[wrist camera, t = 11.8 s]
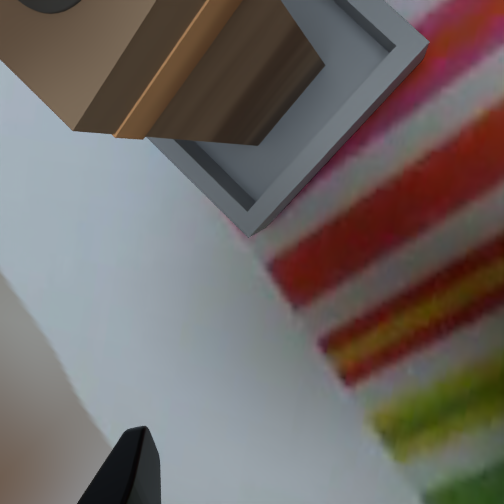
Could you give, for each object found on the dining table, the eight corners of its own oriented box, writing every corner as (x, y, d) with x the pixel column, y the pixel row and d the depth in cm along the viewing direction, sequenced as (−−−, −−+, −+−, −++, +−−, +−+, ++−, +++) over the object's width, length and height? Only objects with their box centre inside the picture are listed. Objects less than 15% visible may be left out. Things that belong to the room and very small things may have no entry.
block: (327, 65, 19) (218, -98, 7) (258, 147, 21) (69, 134, 8) (250, -6, 19) (16, -281, 7) (188, 81, 21) (-92, -25, 9)
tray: (423, 59, 19) (429, 41, 16) (266, 227, 22) (248, 237, 19) (253, -97, 19) (230, -140, 17) (126, 90, 23) (89, 80, 20)
